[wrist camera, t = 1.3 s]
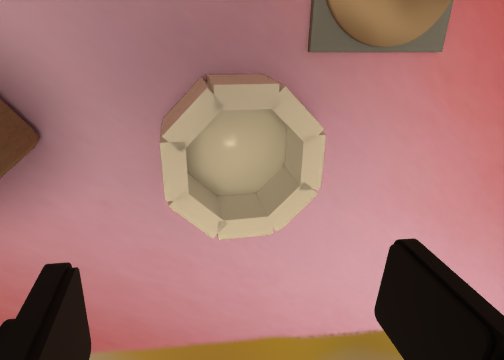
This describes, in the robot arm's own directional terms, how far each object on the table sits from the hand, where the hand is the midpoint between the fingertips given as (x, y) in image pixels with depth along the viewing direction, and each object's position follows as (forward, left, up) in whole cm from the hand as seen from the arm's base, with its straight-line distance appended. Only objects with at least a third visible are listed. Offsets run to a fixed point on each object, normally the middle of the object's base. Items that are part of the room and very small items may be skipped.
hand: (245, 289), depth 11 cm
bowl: (+4, +4, -25) cm, 26 cm away
